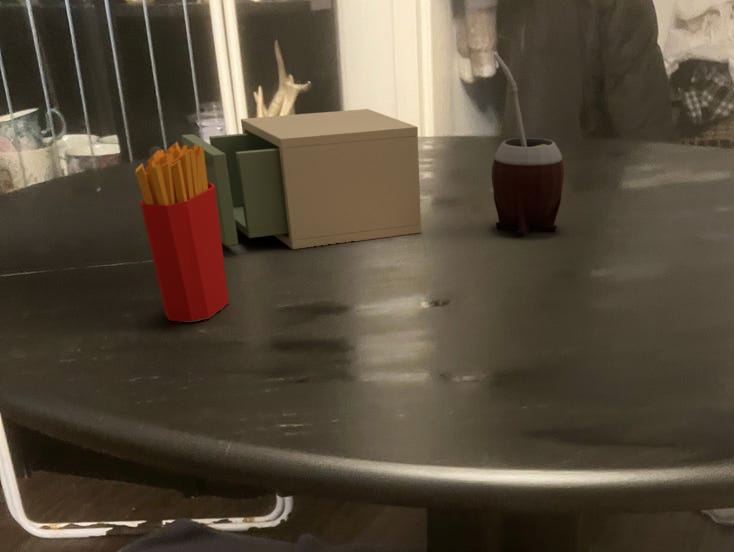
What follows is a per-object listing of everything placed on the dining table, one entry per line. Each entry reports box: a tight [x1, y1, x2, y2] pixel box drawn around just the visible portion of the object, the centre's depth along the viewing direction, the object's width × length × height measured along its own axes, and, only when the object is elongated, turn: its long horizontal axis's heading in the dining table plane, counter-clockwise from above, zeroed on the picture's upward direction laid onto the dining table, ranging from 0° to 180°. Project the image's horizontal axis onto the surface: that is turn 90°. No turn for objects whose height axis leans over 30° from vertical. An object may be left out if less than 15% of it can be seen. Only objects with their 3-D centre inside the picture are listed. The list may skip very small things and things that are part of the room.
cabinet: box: [240, 108, 422, 250], centre depth 98 cm, size 14×13×10 cm
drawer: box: [148, 133, 289, 247], centre depth 94 cm, size 16×11×8 cm
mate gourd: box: [491, 53, 565, 238], centre depth 95 cm, size 8×8×15 cm
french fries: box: [135, 141, 230, 321], centre depth 75 cm, size 8×4×12 cm, turn 169°
